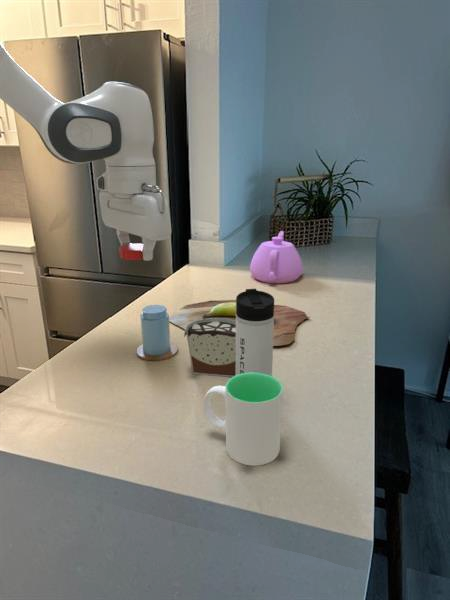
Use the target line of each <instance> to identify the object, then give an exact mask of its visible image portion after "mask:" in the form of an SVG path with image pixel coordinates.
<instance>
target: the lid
mask: <svg viewBox="0 0 450 600" xmlns="http://www.w3.org/2000/svg"><path fill="white" fill-rule="evenodd" d="M143 245H144V243H141V242H139V243H136V242H135V243H132V244H126V245H122V246H121V245H120V246H119V247H118V254H119V258H120V259H122V260H127V261H129V260H130V261H139V260H141V261H142V260H143V259H141V253H140V251H141V250H143ZM153 256H154V252H153Z"/></svg>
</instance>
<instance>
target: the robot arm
mask: <svg viewBox="0 0 450 600" xmlns="http://www.w3.org/2000/svg"><path fill="white" fill-rule="evenodd" d="M0 100H1V101H3V102H4V103H5V104H6V105H7V106H8V107H10V108H11V109H12V110H13V111H14V112H16V113H17V114H18V115H19V116H20V117H22V118H23V119H24V120H25V121H26V122H28V123H29V124H30V126H31V127H33V129H34V130H35V132H36V133H37V134H38V136H39V138H40V140H41V142H42V144H43V145H44V147H45V148H46V150H47V151H48V152H49V153H50V155H51V156H52V157H54V158H55V159H56V160H59V161H60V162H62V163H65V164H71V165H76V164H77V165H85V164H89V163H92V162H95V161H98V160H104V164H105V171H104V172H103V173H102V174H101V175H100V176H98V177H97V178H96V179H95V182H96V183H95V184H96V188H97V190H99V193H98V194H99V197H98V198H99V207H100V214H101V220H102V223H103V224H104V225H105V227H109V228H111V229H115V231H116V236H117V238H118V241H119V244H120V246H122V245H126V244H133V243H132V242H131V239H130V235H129V234H131V235H134V236H138V237H140V238H141V242H142V244H144V245H143V250H141V251H140V253H141V259H142V260H143V261H146V262H147V261H152V260H153V258H154V255H153V253H154V249H155V246H156V243H157V242H159V241H164V240H168V239H170V238H171V235H172V222H171V221H172V220H171V215H170V214H171V213H170V206H169V202H168V200H167V198H166V196H165V193H164V192H163V190H162V189H161V187H160V186H159V185H157V171H156V170H157V168H156V160H155V158H154V150H153V149H154V144H155V130H154V129H155V128H154V127H155V126H154V118H153V110H152V105H151V101H150V97H149V95H148V94H147V92H146V91H145V90H144V89H142V88H141V87H139V86H136V85H134V84H131V83H126V82H121V81H106V82H105V83H103V84H102V86H100V87H98V88H97V89H96V90H94V91H92V92H91V93H89V94H86V95H85V96H81V97H80V98H76V99H74V100H71V101H67V102H62V101H60V100H58V99H56V98H55V97H54V96H53V95H51V94H50V93H49V92H48V91H47V90H46V89H45V88H44V87H43V86H42V85H41V84H40V83H38V82H37V81H36V80H35V79H34V78H33V77H32V76H31V75H30V74H29V73H27V72H26V70H24V69H23V68H22V67H21V66H20V65H19V64H18V63H17V62H16V61H15V59H14V58H13V57H12V56H11V55H10V54H9V53H8V51H7V49H6V48H5V46H4V45H3V44H2V42H1V41H0Z"/></svg>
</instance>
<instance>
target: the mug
mask: <svg viewBox="0 0 450 600" xmlns="http://www.w3.org/2000/svg"><path fill="white" fill-rule="evenodd" d="M213 394H218V395H220V396H221V397H222V398H223V399H224V403H225V419H224V420H223V419H221V418H219V416H217V415H216V414H215V412H214V410H213V408H212V403H211V398H212V395H213ZM282 405H283V385H282V383H281V381H280V380H279V379H278V378H276V377H274V376H273V375H272V376H270V375H267V374H263V373H255V372H250V373H242V374H238V375H236V376H234V377H229V379H228V380H227V381H226V383H225V385H215V386H213V387H211V388H210V389H208V390H207V392H206V393H205V396H204V399H203V410H204V413H205V416H206V419H208V421H209V422H210V423H211V424H212V425H213V426H215V427H216V428H218V429H220V430H223V431H224V433H225V451H226V453H227V454H228V456H229V457H230V458H231V459H232V460H234V461H235V462H236V463H239V464H242V465H246V466H253V467H256V466H257V467H258V466H264V465H267V464H270V463H272V462H273V461H274V460H276V458H277V457H278V456H279V454H280V450H281V429H282V407H283V406H282Z"/></svg>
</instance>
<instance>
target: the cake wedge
mask: <svg viewBox="0 0 450 600" xmlns="http://www.w3.org/2000/svg"><path fill="white" fill-rule="evenodd" d="M183 337H184V338H185V337H186V340H187V345H188V346H187V347H188V353H189V358H190V365H191V372H192V374H193V375H204V376H213V377H214V376H215V377H227V378H232V377H234V376H236V321H234V320H231V319H225V318H206V319H201V320H197V321H194V322H192V323H190V324H189V325H188V326H187V327H186V330H185V329H184V333H183Z"/></svg>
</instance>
